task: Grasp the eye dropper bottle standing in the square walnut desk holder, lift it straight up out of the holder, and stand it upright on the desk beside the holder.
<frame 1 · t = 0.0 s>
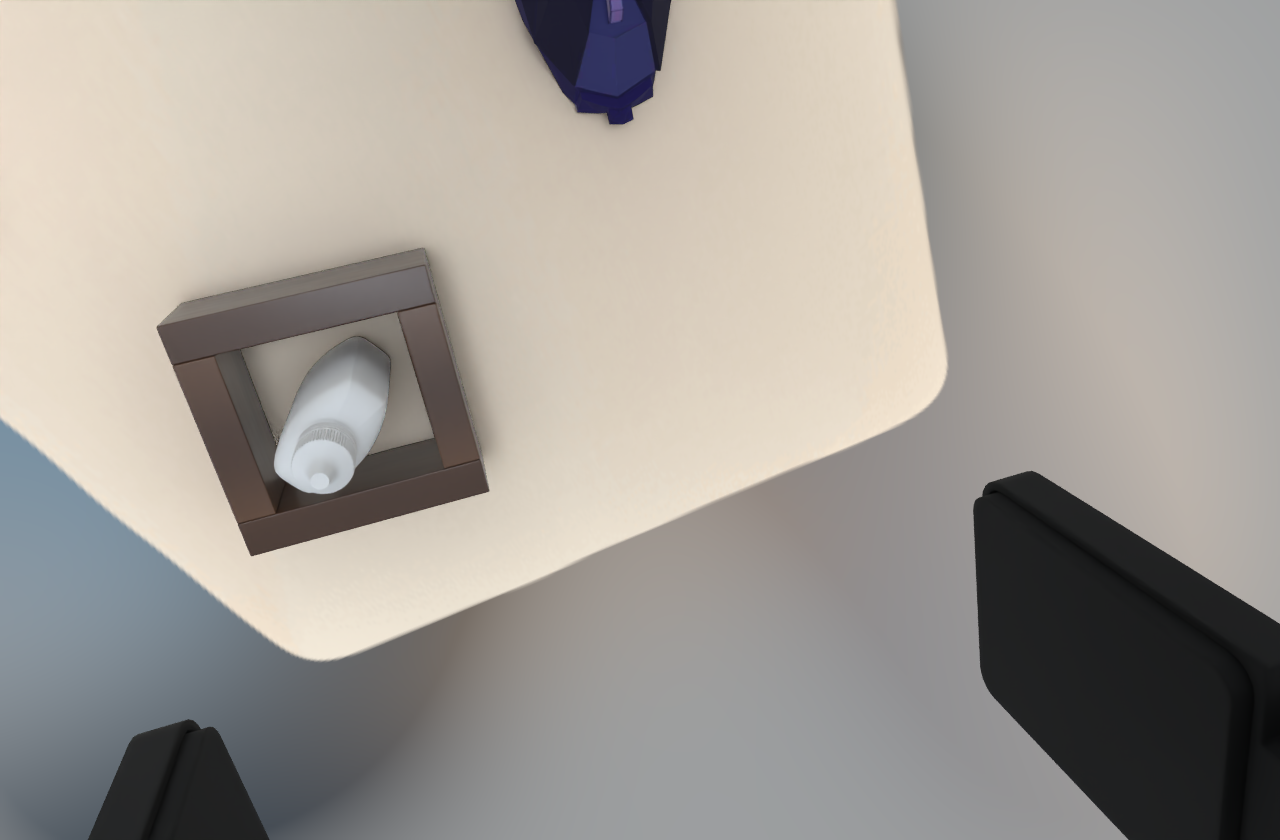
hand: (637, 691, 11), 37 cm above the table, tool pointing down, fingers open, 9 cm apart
eye dropper bottle: (342, 384, 46), resting in holder
holder: (342, 385, 45), on the table
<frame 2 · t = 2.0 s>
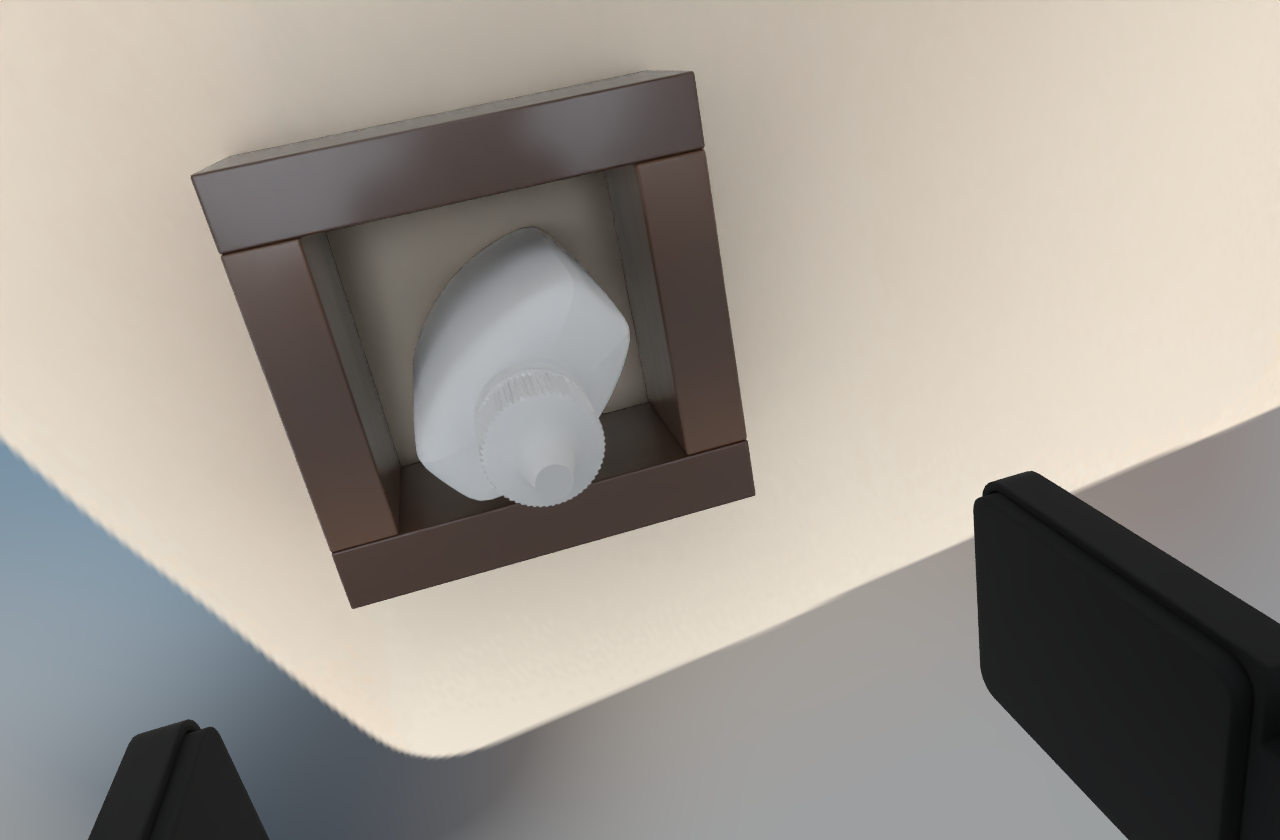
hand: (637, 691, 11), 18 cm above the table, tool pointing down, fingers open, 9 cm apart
eye dropper bottle: (496, 312, 27), resting in holder
holder: (496, 313, 27), on the table
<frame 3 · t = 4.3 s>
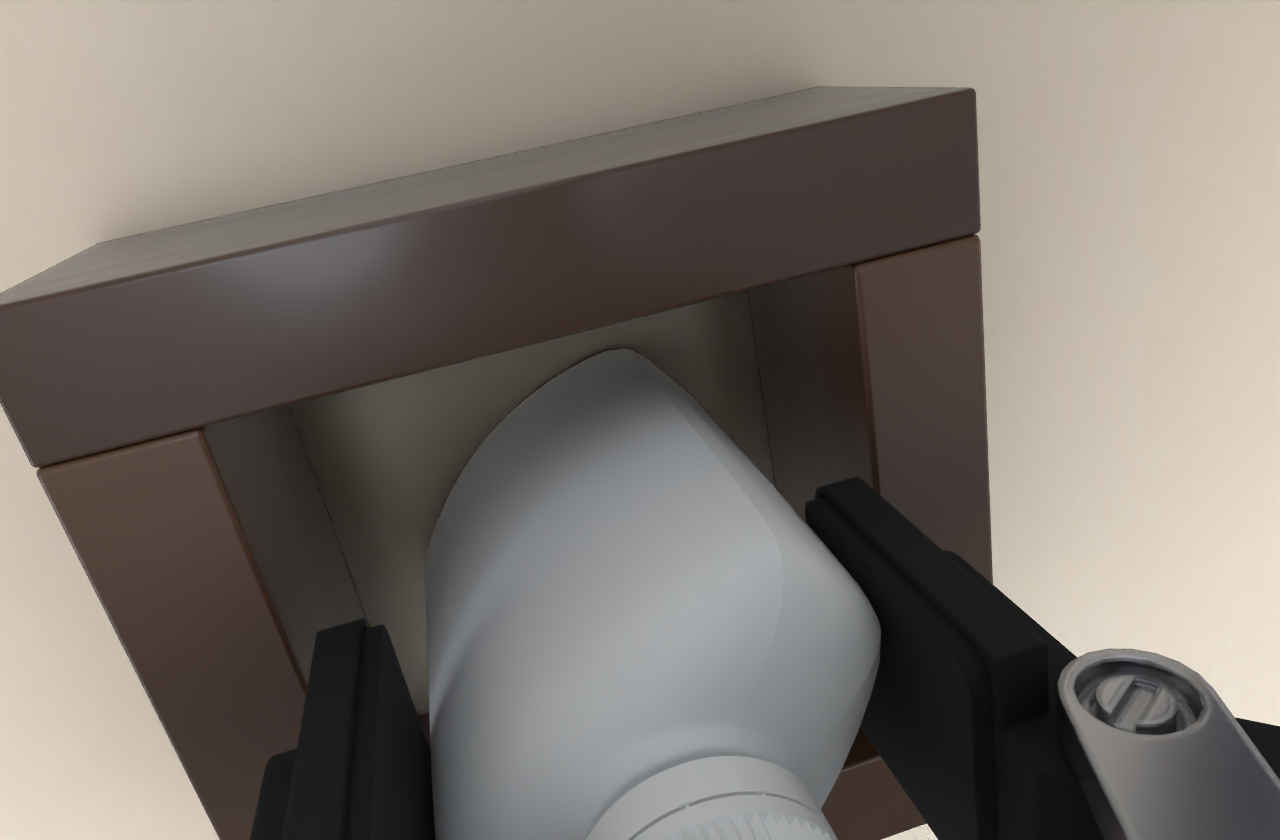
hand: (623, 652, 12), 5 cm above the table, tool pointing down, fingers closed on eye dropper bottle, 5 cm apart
eye dropper bottle: (559, 479, 17), resting in holder, touching gripper
holder: (560, 483, 16), on the table
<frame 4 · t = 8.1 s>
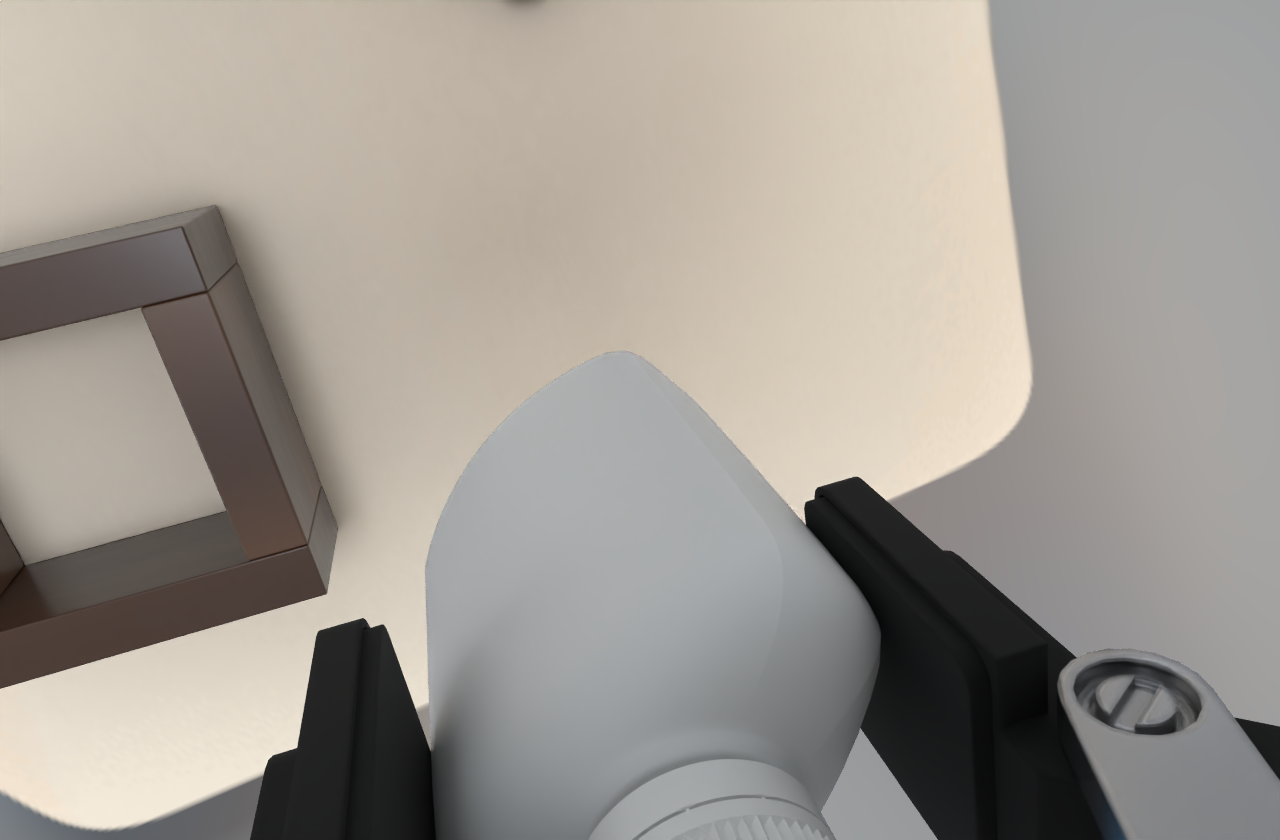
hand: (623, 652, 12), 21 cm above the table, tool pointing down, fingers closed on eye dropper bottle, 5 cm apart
eye dropper bottle: (559, 481, 17), point 15 cm above the table, touching gripper
holder: (99, 425, 29), on the table
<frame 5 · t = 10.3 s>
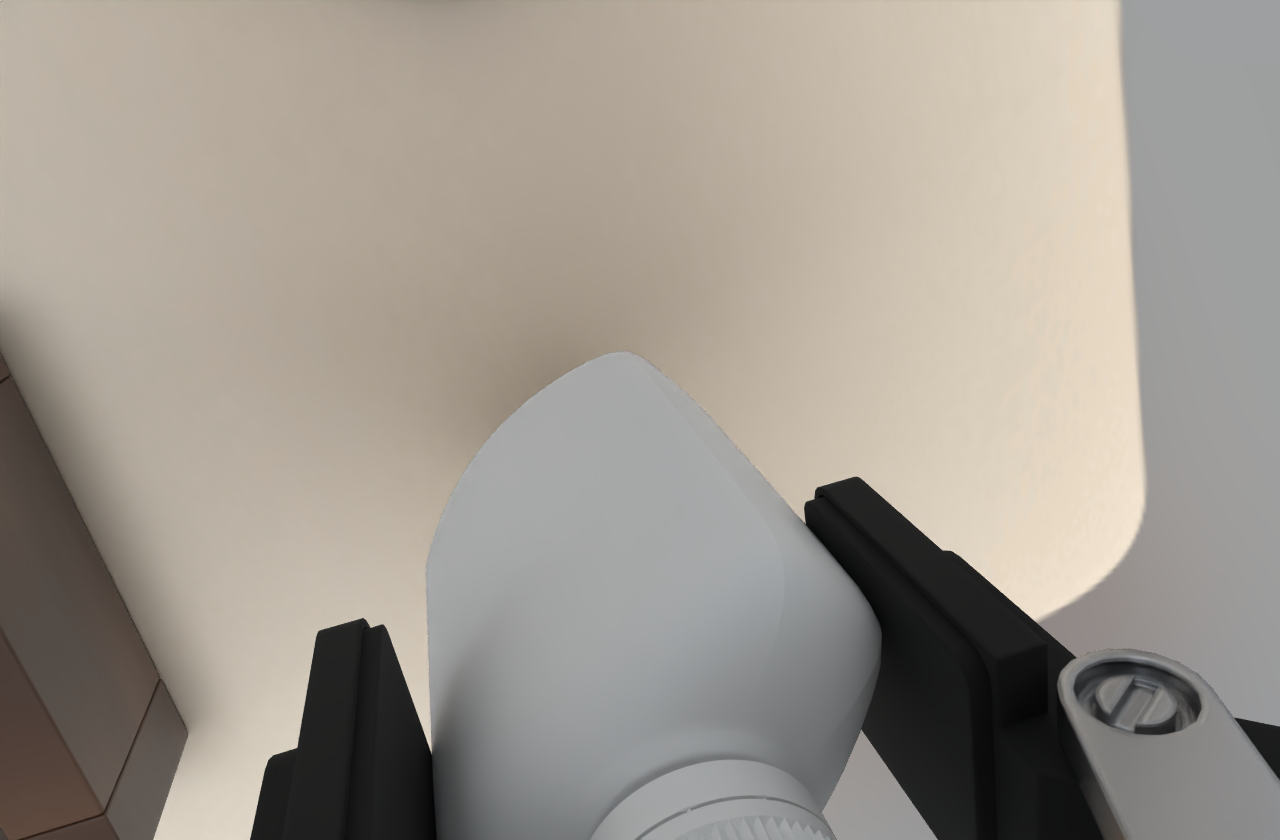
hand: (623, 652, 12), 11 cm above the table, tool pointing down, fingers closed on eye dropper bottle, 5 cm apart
eye dropper bottle: (559, 481, 17), point 5 cm above the table, touching gripper
when the fingers open (5 cm above the table, at t = 12.1 s): eye dropper bottle stays where it is, on the table.
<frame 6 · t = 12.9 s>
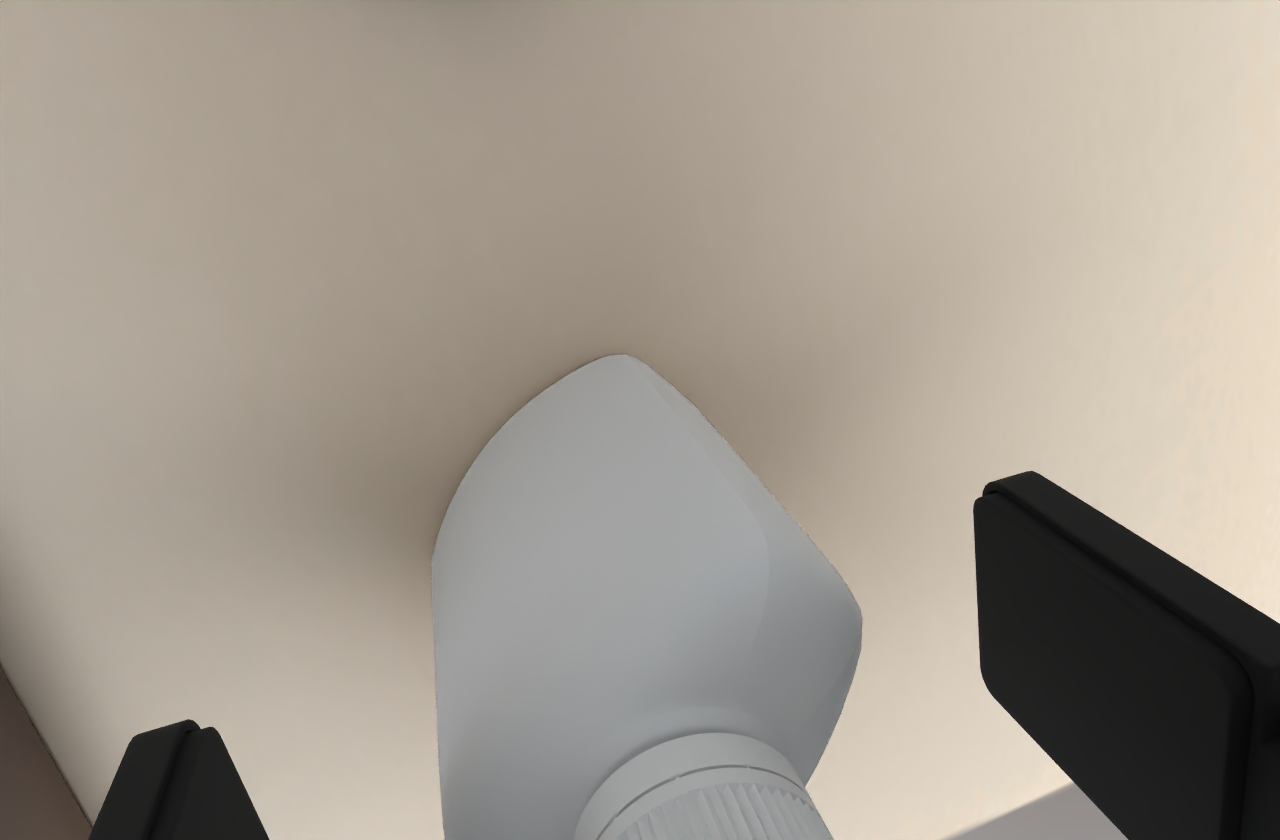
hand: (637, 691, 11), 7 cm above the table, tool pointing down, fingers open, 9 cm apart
eye dropper bottle: (560, 479, 17), on the table
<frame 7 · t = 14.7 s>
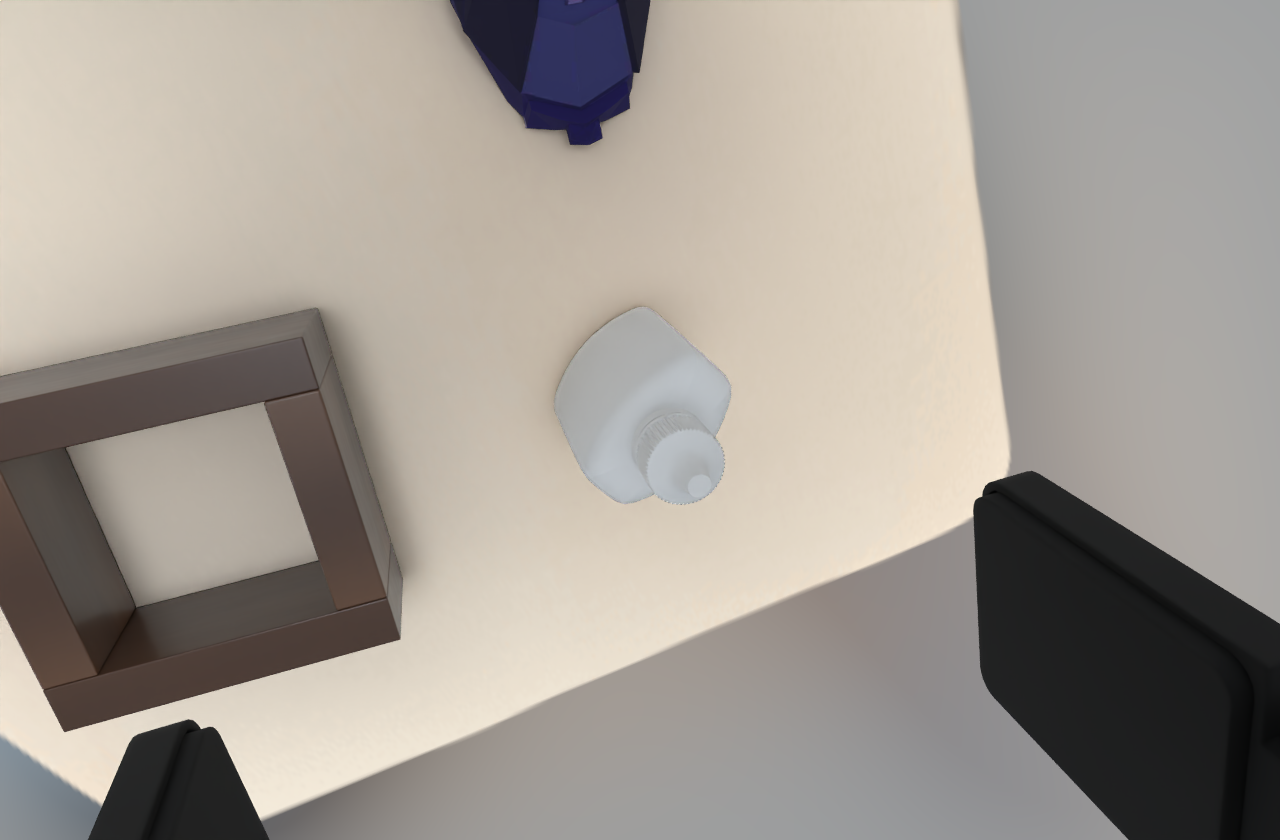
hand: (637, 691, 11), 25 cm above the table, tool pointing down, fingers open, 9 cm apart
eye dropper bottle: (613, 368, 36), on the table
holder: (207, 489, 34), on the table
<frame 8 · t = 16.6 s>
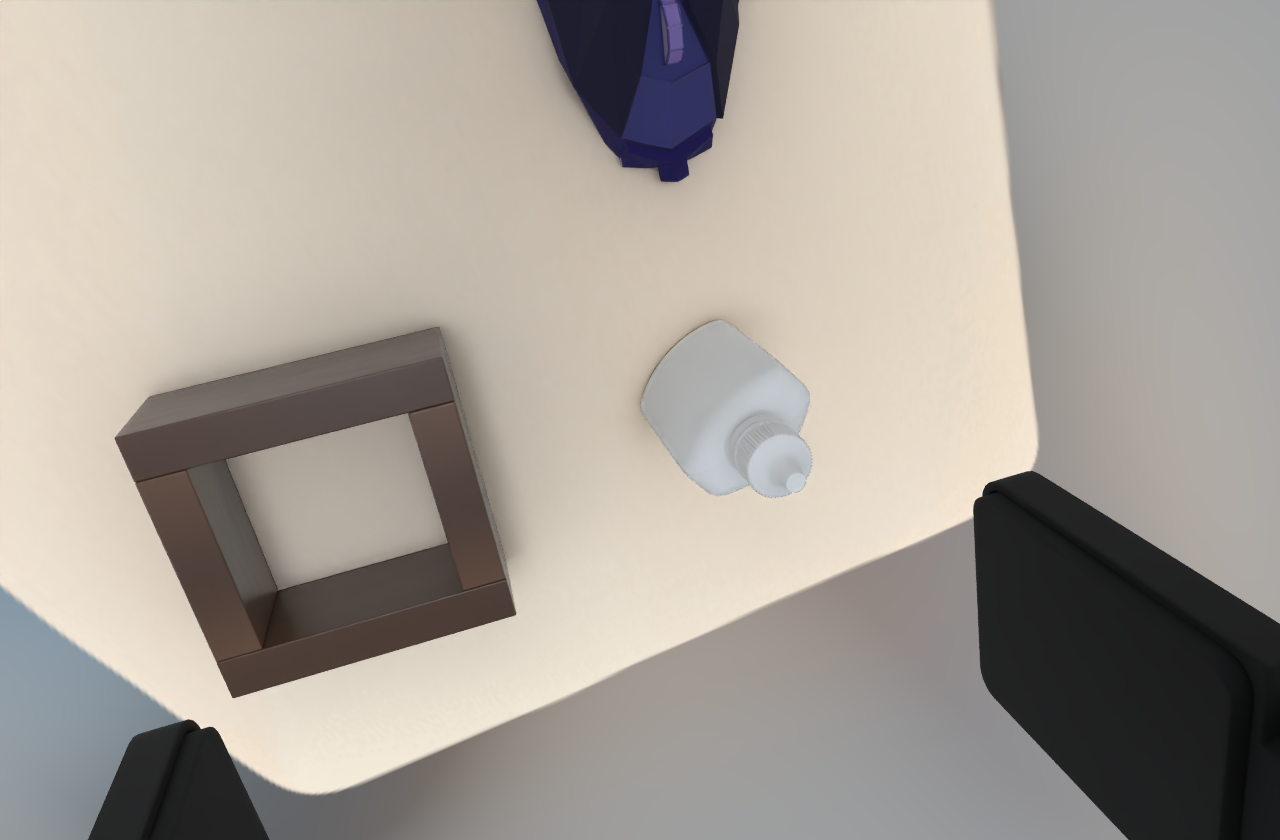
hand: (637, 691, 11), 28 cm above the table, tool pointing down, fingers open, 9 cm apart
eye dropper bottle: (691, 373, 41), on the table
holder: (341, 486, 38), on the table
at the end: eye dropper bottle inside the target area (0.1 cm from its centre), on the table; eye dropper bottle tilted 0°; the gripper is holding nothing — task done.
